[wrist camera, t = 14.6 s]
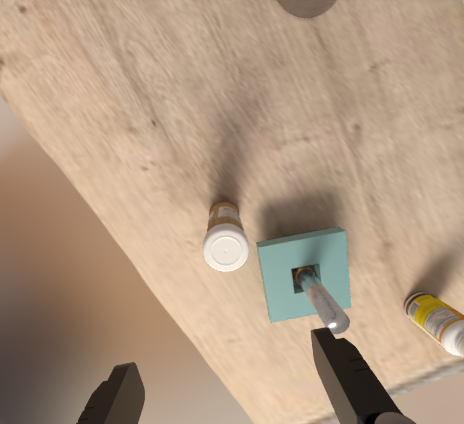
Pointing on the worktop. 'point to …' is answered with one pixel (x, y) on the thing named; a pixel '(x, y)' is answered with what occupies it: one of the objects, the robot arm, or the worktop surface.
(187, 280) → the worktop surface
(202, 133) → the worktop surface
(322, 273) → the collar
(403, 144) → the worktop surface
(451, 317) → the supplement bottle
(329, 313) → the grey peg
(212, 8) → the worktop surface
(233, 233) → the sprinkles bottle
